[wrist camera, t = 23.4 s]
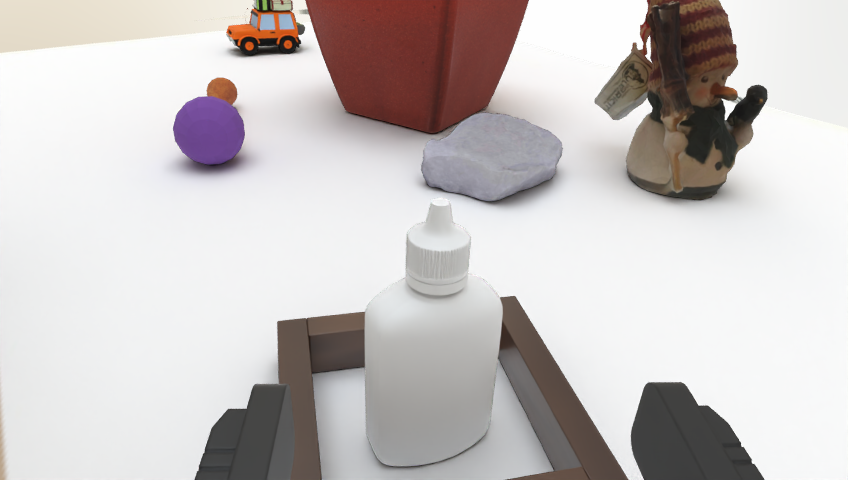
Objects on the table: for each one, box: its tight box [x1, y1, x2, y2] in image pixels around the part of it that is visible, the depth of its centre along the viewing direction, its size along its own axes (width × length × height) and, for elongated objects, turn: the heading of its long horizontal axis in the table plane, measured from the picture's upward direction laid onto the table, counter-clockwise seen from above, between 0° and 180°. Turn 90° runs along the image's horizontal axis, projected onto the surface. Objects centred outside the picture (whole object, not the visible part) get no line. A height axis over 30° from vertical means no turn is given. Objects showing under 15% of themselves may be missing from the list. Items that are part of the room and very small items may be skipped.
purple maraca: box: [173, 78, 245, 165], centre depth 59 cm, size 6×6×20 cm
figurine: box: [595, 0, 767, 200], centre depth 51 cm, size 13×12×20 cm
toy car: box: [226, 0, 305, 55], centre depth 92 cm, size 7×12×9 cm, turn 120°
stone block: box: [421, 113, 563, 201], centre depth 53 cm, size 12×5×10 cm
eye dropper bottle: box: [365, 198, 503, 466], centre depth 25 cm, size 4×6×12 cm
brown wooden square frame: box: [277, 296, 628, 480], centre depth 27 cm, size 13×13×2 cm
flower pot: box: [305, 0, 529, 133], centre depth 66 cm, size 19×19×17 cm
